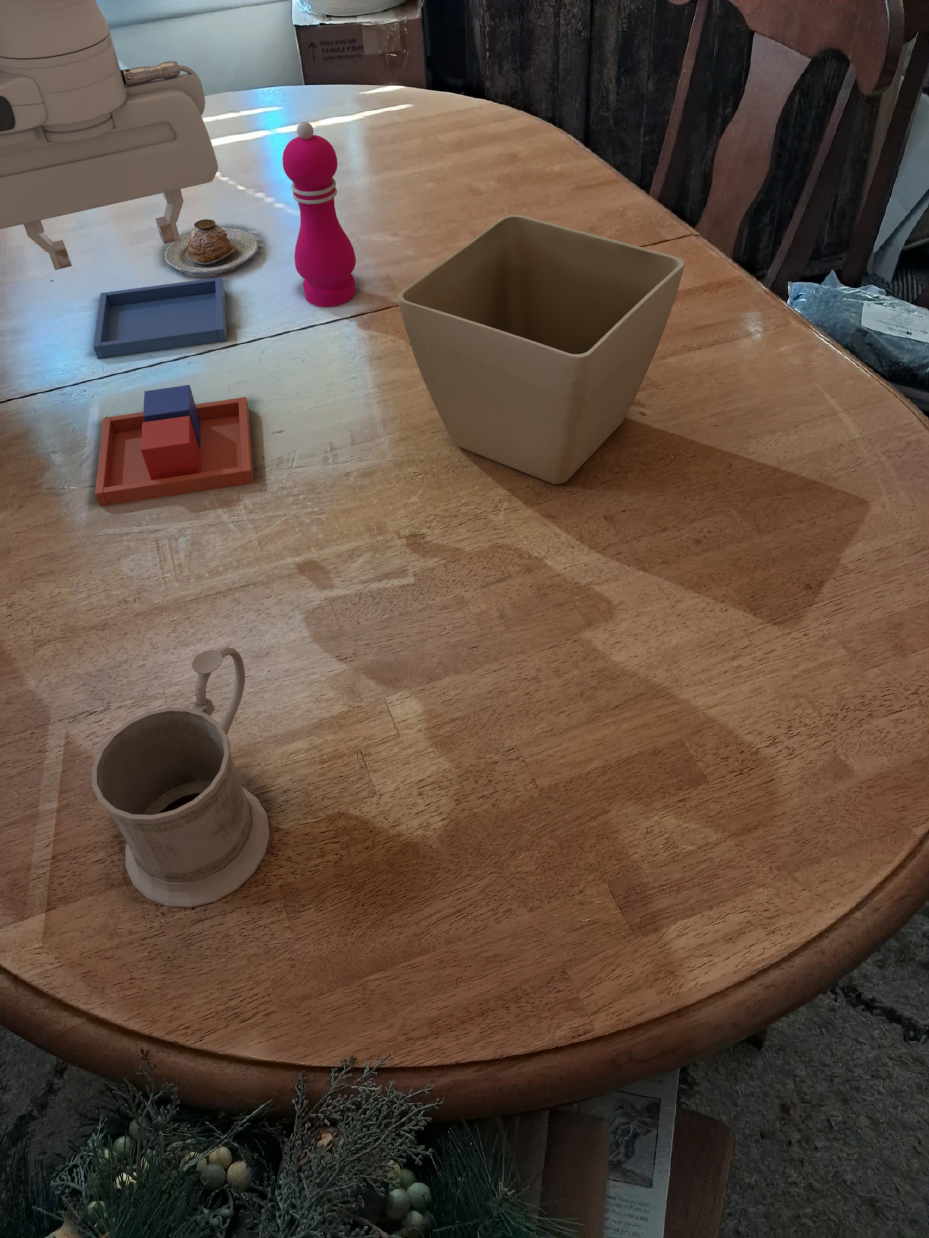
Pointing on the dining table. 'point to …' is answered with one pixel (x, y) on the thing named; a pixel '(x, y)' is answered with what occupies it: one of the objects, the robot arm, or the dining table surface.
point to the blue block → (171, 406)
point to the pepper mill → (319, 221)
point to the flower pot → (538, 340)
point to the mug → (173, 768)
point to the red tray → (220, 467)
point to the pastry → (211, 250)
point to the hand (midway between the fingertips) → (117, 253)
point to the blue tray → (160, 318)
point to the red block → (170, 448)
